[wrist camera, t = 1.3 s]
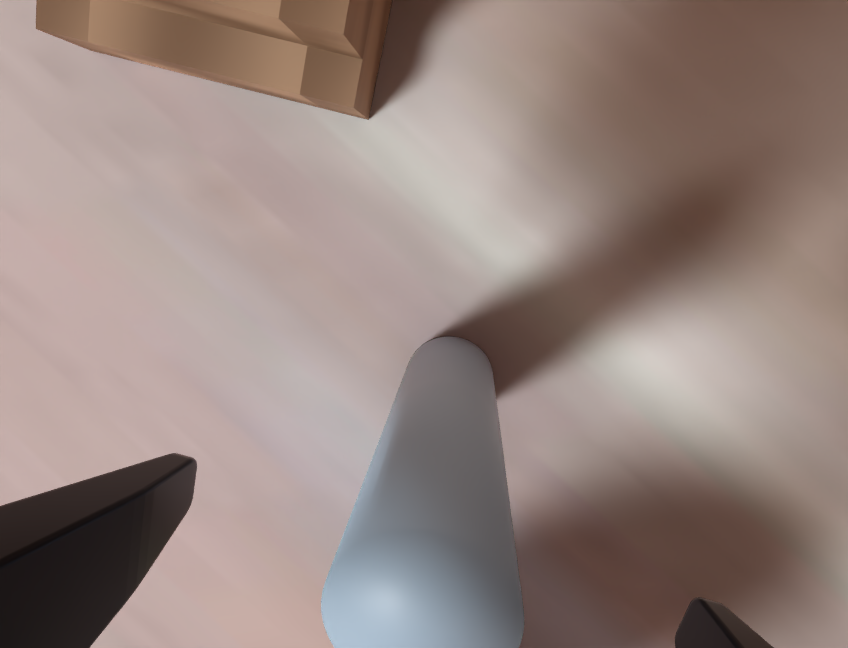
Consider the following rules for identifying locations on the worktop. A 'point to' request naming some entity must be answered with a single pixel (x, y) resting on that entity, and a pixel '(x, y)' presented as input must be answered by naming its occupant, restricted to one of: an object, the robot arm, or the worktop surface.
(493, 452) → the gray dowel
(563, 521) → the worktop surface
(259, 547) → the worktop surface
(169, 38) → the leaning socket
